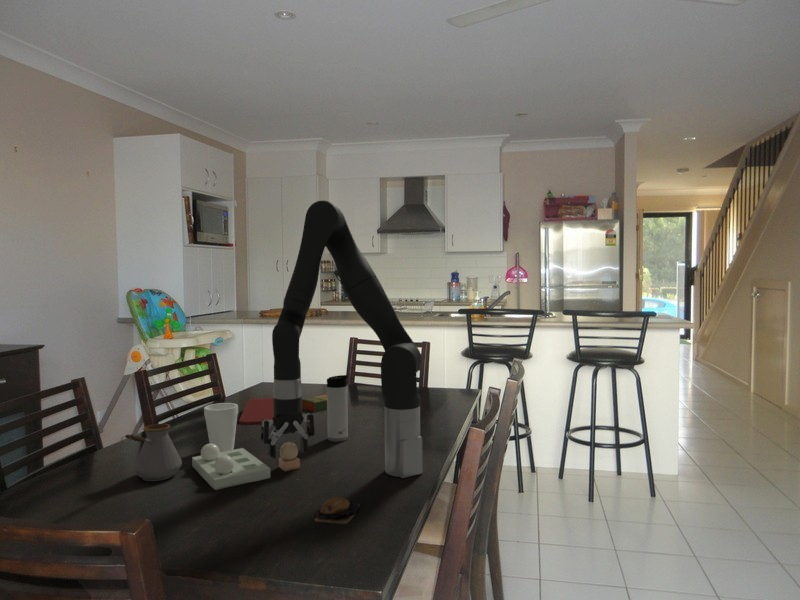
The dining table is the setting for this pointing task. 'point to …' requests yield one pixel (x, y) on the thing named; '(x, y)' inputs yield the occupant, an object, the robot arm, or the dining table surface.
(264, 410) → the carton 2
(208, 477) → the egg tray
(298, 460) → the egg cup
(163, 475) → the coffee pot
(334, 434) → the travel mug
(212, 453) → the white egg
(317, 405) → the carton
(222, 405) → the foam cup
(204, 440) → the dining table surface
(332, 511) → the sandwich
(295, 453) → the brown egg
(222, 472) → the white egg
